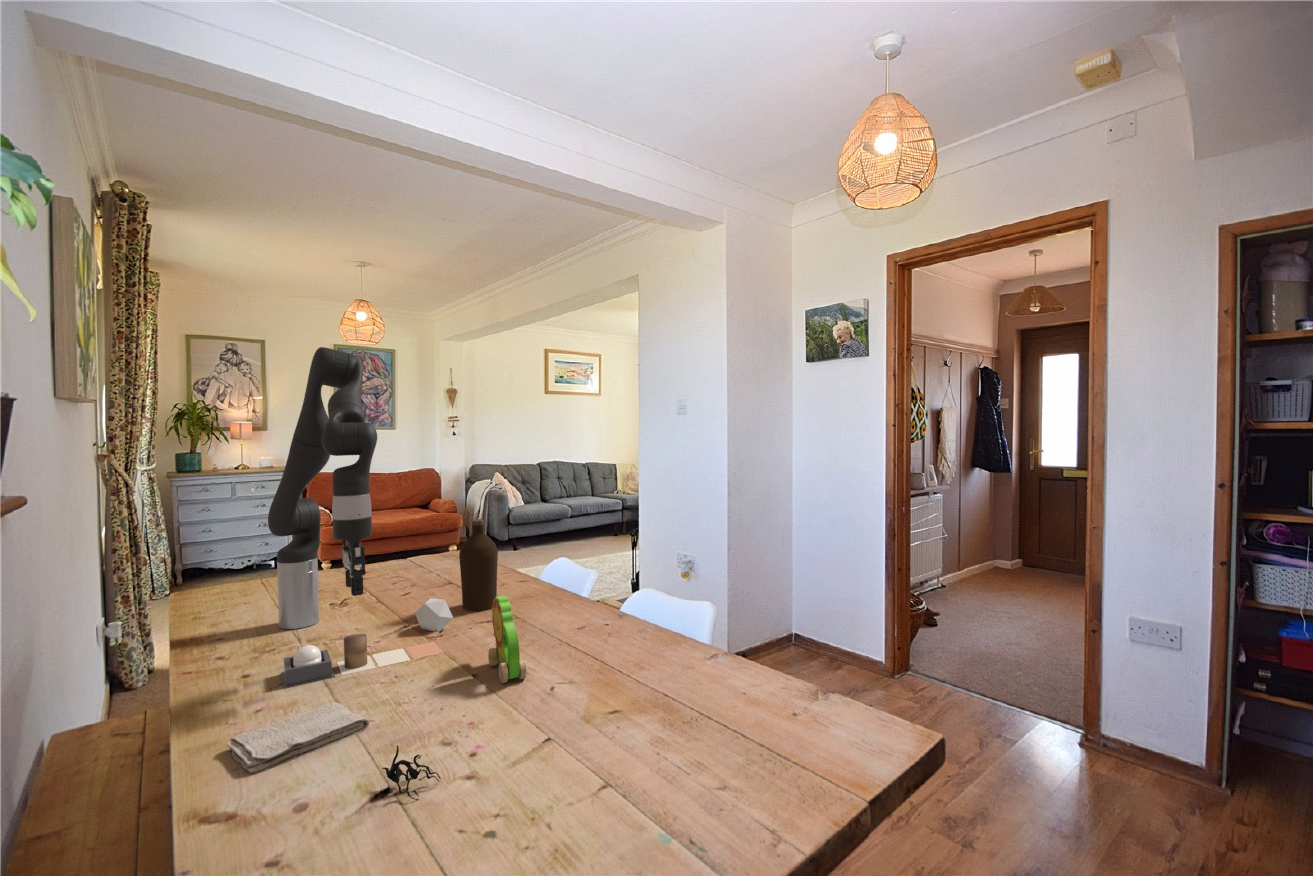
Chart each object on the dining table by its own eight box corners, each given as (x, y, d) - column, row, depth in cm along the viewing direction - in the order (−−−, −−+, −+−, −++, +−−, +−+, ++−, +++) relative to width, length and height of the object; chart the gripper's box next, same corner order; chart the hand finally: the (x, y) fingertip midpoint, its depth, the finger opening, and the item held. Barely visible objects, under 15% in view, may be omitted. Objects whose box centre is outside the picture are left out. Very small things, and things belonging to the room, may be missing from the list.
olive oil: (490, 612, 166) (488, 523, 166) (454, 612, 167) (452, 523, 167) (504, 601, 177) (502, 517, 176) (469, 600, 178) (467, 517, 177)
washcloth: (223, 754, 96) (222, 735, 96) (338, 711, 110) (338, 695, 110) (250, 781, 89) (249, 760, 89) (370, 731, 103) (370, 713, 103)
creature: (445, 776, 90) (392, 768, 90) (452, 742, 90) (399, 734, 90) (430, 809, 83) (373, 800, 82) (438, 771, 83) (380, 763, 82)
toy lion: (528, 681, 121) (526, 606, 121) (501, 687, 118) (499, 611, 118) (509, 655, 135) (508, 588, 135) (485, 659, 133) (483, 591, 132)
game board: (332, 665, 130) (332, 661, 130) (436, 643, 143) (436, 640, 143) (338, 681, 122) (338, 677, 122) (447, 656, 135) (447, 652, 135)
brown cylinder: (343, 663, 129) (342, 636, 129) (365, 659, 132) (364, 632, 131) (346, 670, 125) (345, 642, 125) (368, 665, 128) (368, 637, 128)
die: (459, 630, 154) (451, 595, 159) (446, 623, 147) (438, 587, 151) (429, 643, 153) (422, 608, 158) (414, 637, 146) (407, 600, 150)
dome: (292, 671, 124) (292, 645, 124) (320, 665, 127) (319, 639, 127) (294, 679, 120) (293, 652, 120) (322, 673, 123) (322, 646, 123)
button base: (281, 677, 125) (280, 658, 125) (330, 666, 130) (329, 648, 130) (283, 692, 117) (282, 672, 117) (335, 680, 122) (334, 661, 122)
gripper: (377, 517, 124) (379, 595, 124) (366, 510, 136) (368, 581, 136) (336, 521, 120) (338, 601, 120) (328, 513, 132) (330, 586, 132)
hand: (354, 590), depth 128 cm, fingers open, 8 cm apart
